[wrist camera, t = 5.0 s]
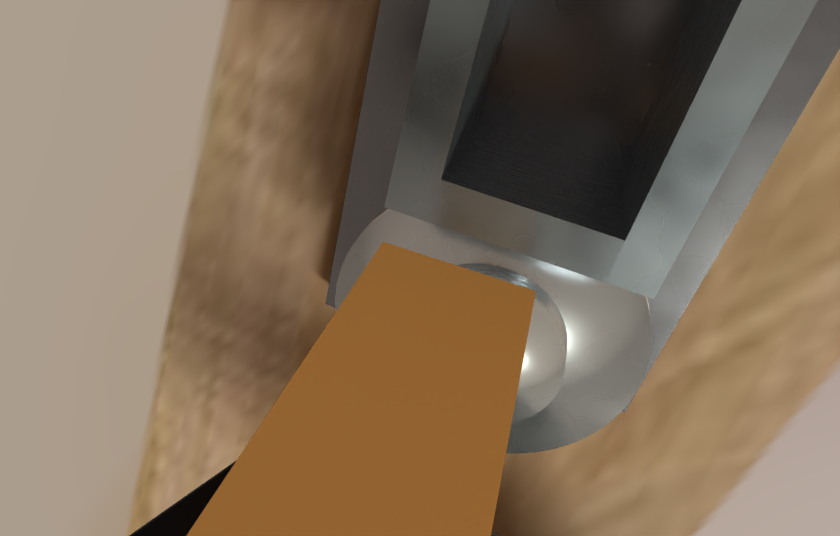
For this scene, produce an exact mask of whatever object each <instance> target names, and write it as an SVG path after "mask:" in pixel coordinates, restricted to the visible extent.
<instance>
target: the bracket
mask: <svg viewBox="0 0 840 536" xmlns="http://www.w3.org/2000/svg"><path fill="white" fill-rule="evenodd" d="M839 49H840V0H381V1H380V6H379V12H378V17H377V23H376V28H375V34H374V39H373V45H372V51H371V56H370V62H369V67H368V73H367V78H366V84H365V89H364V95H363V100H362V106H361V111H360V117H359V122H358V128H357V133H356V139H355V145H354V150H353V156H352V161H351V167H350V172H349V178H348V183H347V189H346V194H345V200H344V205H343V211H342V216H341V222H340V227H339V233H338V239H337V244H336V250H335V255H334V261H333V266H332V272H331V277H330V283H329V288H328V294H327V299H326V304H327V305H330V306H333V307H335V313H336V311H337V310H338V308H339V307H340V305H341V304H342V302H343V301H344V299H345V298H346V296H347V295H348V293H349V292H350V290H351V289H352V287H353V286H354V284H355V283H356V281H357V280H358V278H359V277H360V275H361V274H362V272H363V271H364V269H365V268H366V266H367V265H368V263H369V262H370V260H371V259H372V257H373V256H374V254H375V253H376V251H377V250H378V248H379V247H380V245H381V244H382V242H386V243H389V244H392V245H395V246H398V247H401V248H405V249H408V250H411V251H414V252H417V253H420V254H423V255H426V256H429V257H432V258H435V259H439V260H442V261H445V262H448V263H451V264H454V265H457V266H460V267H463V268H466V269H469V270H473V271H476V272H479V273H482V274H485V275H488V276H491V277H494V278H497V279H500V280H503V281H507V282H510V283H513V284H516V285H519V286H522V287H525V288H528V289H531V290H534V291H536V294H535V299H534V305H533V310H532V316H531V321H530V326H529V332H528V337H527V343H526V348H525V353H524V359H523V364H522V370H521V375H520V380H519V386H518V391H517V397H516V402H515V408H514V413H513V418H512V424H511V429H510V435H509V440H508V445H507V451H506V453H530V452H538V451H544V450H550V449H554V448H558V447H561V446H565V445H568V444H571V443H573V442H576V441H578V440H581V439H583V438H585V437H587V436H589V435H591V434H592V433H594V432H596V431H598V430H599V429H601V428H602V427H604V426H605V425H606V424H608V423H609V422H610V421H612V420H613V419H614V418H615V417H616V416H617V415H618V414H619V413H620V412H621V411H623V412H625V411H626V409H627V407H628V406H629V404H630V402H631V401H632V399H633V397H634V396H635V394H636V392H637V391H638V389H639V387H640V385H641V384H642V382H643V380H644V379H645V377H646V375H647V374H648V372H649V370H650V369H651V367H652V365H653V363H654V362H655V360H656V358H657V357H658V355H659V353H660V352H661V350H662V348H663V347H664V345H665V343H666V341H667V340H668V338H669V336H670V335H671V333H672V331H673V330H674V328H675V326H676V325H677V323H678V321H679V319H680V318H681V316H682V314H683V313H684V311H685V309H686V308H687V306H688V304H689V302H690V301H691V299H692V297H693V296H694V294H695V292H696V291H697V289H698V287H699V286H700V284H701V282H702V280H703V279H704V277H705V275H706V274H707V272H708V270H709V269H710V267H711V265H712V264H713V262H714V260H715V258H716V257H717V255H718V253H719V252H720V250H721V248H722V247H723V245H724V243H725V242H726V240H727V238H728V236H729V235H730V233H731V231H732V230H733V228H734V226H735V225H736V223H737V221H738V220H739V218H740V216H741V214H742V213H743V211H744V209H745V208H746V206H747V204H748V203H749V201H750V199H751V198H752V196H753V194H754V192H755V191H756V189H757V187H758V186H759V184H760V182H761V181H762V179H763V177H764V176H765V174H766V172H767V170H768V169H769V167H770V165H771V164H772V162H773V160H774V159H775V157H776V155H777V154H778V152H779V150H780V148H781V147H782V145H783V143H784V142H785V140H786V138H787V137H788V135H789V133H790V131H791V130H792V128H793V126H794V125H795V123H796V121H797V120H798V118H799V116H800V115H801V113H802V111H803V109H804V108H805V106H806V104H807V103H808V101H809V99H810V98H811V96H812V94H813V93H814V91H815V89H816V87H817V86H818V84H819V82H820V81H821V79H822V77H823V76H824V74H825V72H826V71H827V69H828V67H829V65H830V64H831V62H832V60H833V59H834V57H835V55H836V54H837V52H838V50H839Z"/></svg>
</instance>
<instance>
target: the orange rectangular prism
mask: <svg viewBox="0 0 840 536" xmlns="http://www.w3.org/2000/svg"><path fill="white" fill-rule="evenodd" d="M535 294H536V291H534V290H531V289H528V288H525V287H522V286H519V285H516V284H513V283H510V282H507V281H503V280H500V279H497V278H494V277H491V276H488V275H485V274H482V273H479V272H476V271H473V270H469V269H466V268H463V267H460V266H457V265H454V264H451V263H448V262H445V261H442V260H439V259H435V258H432V257H429V256H426V255H423V254H420V253H417V252H414V251H411V250H408V249H405V248H401V247H398V246H395V245H392V244H389V243H386V242H382V244H381V245H380V247H379V248H378V250H377V251H376V253H375V254H374V256H373V257H372V259H371V260H370V262H369V263H368V265H367V266H366V268H365V269H364V271H363V272H362V274H361V275H360V277H359V278H358V280H357V281H356V283H355V284H354V286H353V287H352V289H351V290H350V292H349V293H348V295H347V296H346V298H345V299H344V301H343V302H342V304H341V305H340V307H339V308H338V310H337V311H336V313H335V314H334V316H333V317H332V319H331V320H330V322H329V323H328V325H327V326H326V328H325V329H324V331H323V332H322V334H321V335H320V337H319V338H318V340H317V341H316V343H315V344H314V346H313V347H312V349H311V350H310V352H309V353H308V355H307V356H306V358H305V359H304V361H303V362H302V364H301V365H300V367H299V368H298V370H297V371H296V372H295V374H294V375H293V377H292V378H291V380H290V381H289V383H288V384H287V386H286V387H285V389H284V390H283V392H282V393H281V395H280V396H279V398H278V399H277V401H276V402H275V404H274V405H273V407H272V408H271V410H270V411H269V413H268V414H267V416H266V417H265V419H264V420H263V422H262V423H261V425H260V426H259V428H258V429H257V431H256V432H255V434H254V435H253V437H252V438H251V440H250V441H249V443H248V444H247V446H246V447H245V449H244V450H243V452H242V453H241V455H240V456H239V458H238V459H237V461H236V462H235V464H234V465H233V467H232V468H231V470H230V471H229V473H228V474H227V476H226V477H225V479H224V480H223V482H222V483H221V485H220V486H219V488H218V489H217V491H216V492H215V494H214V495H213V497H212V498H211V500H210V501H209V503H208V504H207V506H206V507H205V509H204V510H203V512H202V513H201V515H200V516H199V518H198V519H197V521H196V522H195V524H194V525H193V527H192V528H191V530H190V531H189V533H188V534H187V536H491V532H492V527H493V521H494V516H495V510H496V505H497V500H498V494H499V489H500V483H501V478H502V472H503V467H504V462H505V456H506V451H507V445H508V440H509V435H510V429H511V424H512V418H513V413H514V408H515V402H516V397H517V391H518V386H519V380H520V375H521V370H522V364H523V359H524V353H525V348H526V343H527V337H528V332H529V326H530V321H531V316H532V310H533V305H534V299H535Z"/></svg>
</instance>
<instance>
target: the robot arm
mask: <svg viewBox="0 0 840 536" xmlns="http://www.w3.org/2000/svg"><path fill="white" fill-rule="evenodd" d="M236 461H237V460H236ZM236 461H235V462H236ZM235 462H234V463H232V464H231V465H229V466H228V467H226V468H225V469H224V470H222V471H221V472H219V473H218V474H216V475H215V476H214V477H212V478H211V479H209V480H208V481H206V482H205V483H204V484H202V485H201V486H199V487H198V488H196V489H195V490H194V491H192V492H191V493H189V494H188V495H186V496H185V497H184V498H182V499H181V500H179V501H178V502H176V503H175V504H174V505H172V506H171V507H169V508H168V509H166V510H165V511H164V512H162V513H161V514H159V515H158V516H156V517H155V518H154V519H152V520H151V521H149V522H148V523H146V524H145V525H144V526H142V527H141V528H139V529H138V530H136V531H135V532H134V533H132V534H131V535H129V536H187V534H188V533H189V531H190V530H191V528H192V527H193V525H194V524H195V522H196V521H197V519H198V518H199V516H200V515H201V513H202V512H203V510H204V509H205V507H206V506H207V504H208V503H209V501H210V500H211V498H212V497H213V495H214V494H215V492H216V491H217V489H218V488H219V486H220V485H221V483H222V482H223V480H224V479H225V477H226V476H227V474H228V473H229V471H230V470H231V468H232V467H233V465H234V464H235ZM491 536H498V535H497V534H494V533H491Z"/></svg>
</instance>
